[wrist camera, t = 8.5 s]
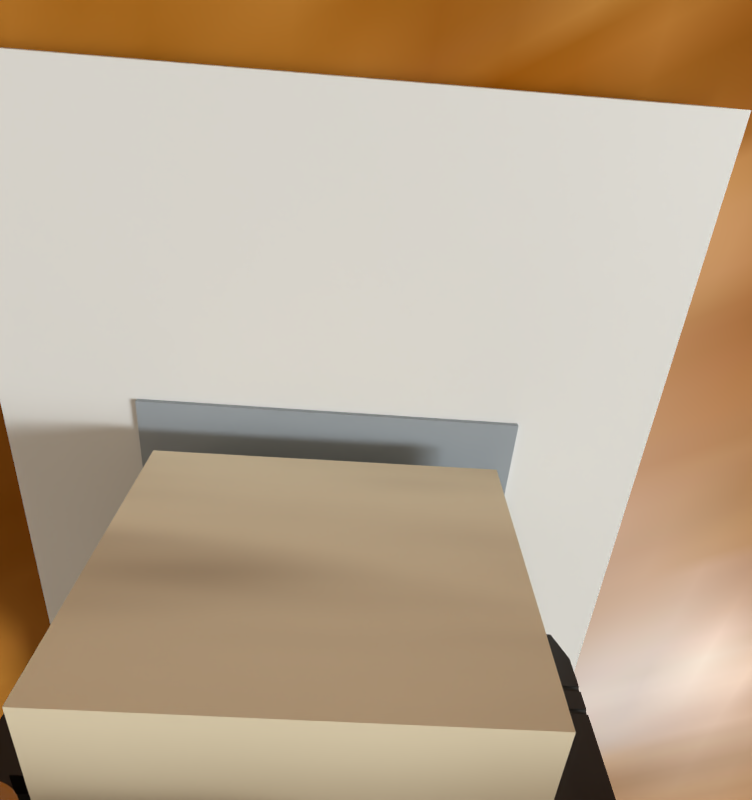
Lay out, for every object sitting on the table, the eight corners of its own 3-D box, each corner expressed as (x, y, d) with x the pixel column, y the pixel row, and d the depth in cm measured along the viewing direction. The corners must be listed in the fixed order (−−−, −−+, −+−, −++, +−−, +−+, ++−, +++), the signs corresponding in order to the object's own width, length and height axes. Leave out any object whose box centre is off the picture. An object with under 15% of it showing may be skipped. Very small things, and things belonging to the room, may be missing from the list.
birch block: (454, 697, 14) (491, 990, 9) (179, 685, 14) (85, 977, 9) (496, 469, 11) (575, 732, 7) (153, 450, 11) (2, 707, 7)
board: (518, 777, 19) (527, 823, 18) (106, 757, 18) (88, 804, 17) (713, 106, 10) (755, 110, 9) (-33, 44, 10) (-86, 40, 9)
